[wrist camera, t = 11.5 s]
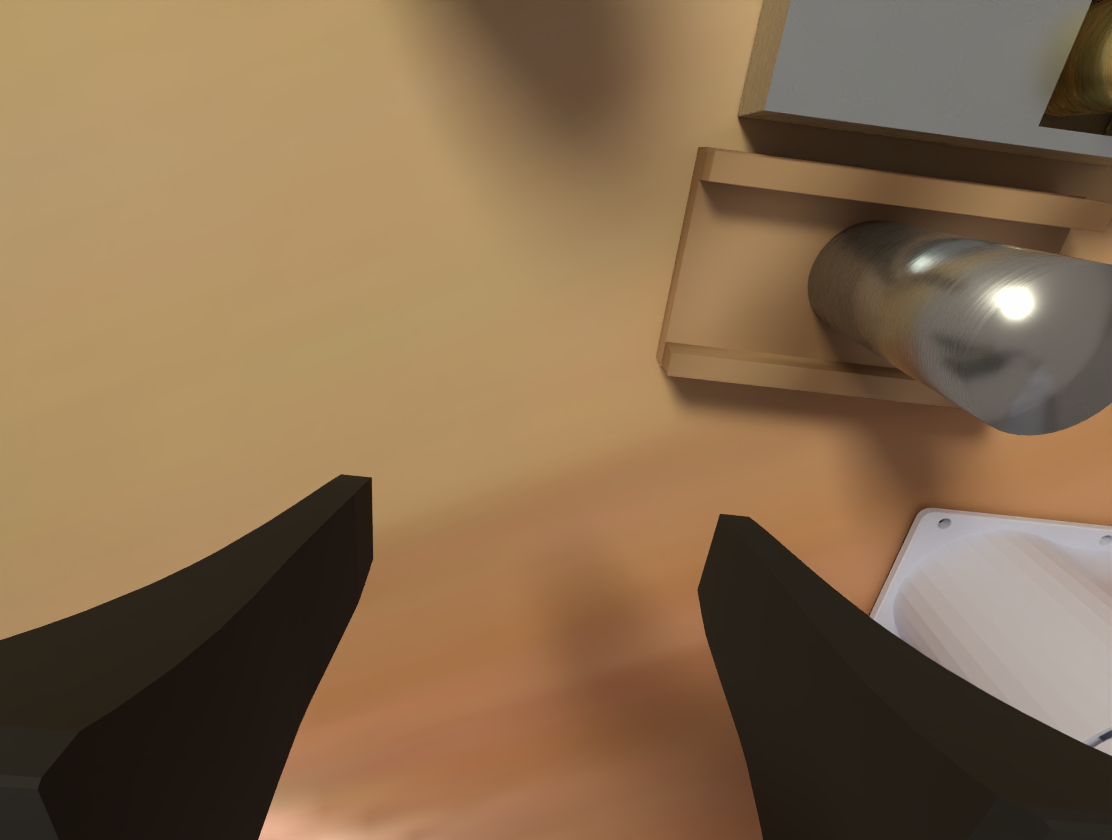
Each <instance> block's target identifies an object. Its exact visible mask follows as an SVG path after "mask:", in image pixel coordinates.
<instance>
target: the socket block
mask: <svg viewBox="0 0 1112 840" xmlns="http://www.w3.org/2000/svg"><path fill="white" fill-rule="evenodd" d="M1091 2H1092V0H763V5H762V9H761V13H760V18H759V22H758V27H757V31H756V36H755V40H754V45H753V49H752V54H751V58H750V62H749V67H748V71H747V76H746V80H745V85H744V89H743V94H742V98H741V103H740V107H739V112H738V116H741V117H748V118H756V119H763V120H771V121H778V122H785V123H793V124H800V125H807V126H815V127H822V128H830V129H837V130H844V131H852V132H859V133H867V134H874V135H881V136H889V137H896V138H903V139H911V140H918V141H926V142H933V143H940V144H948V145H955V146H963V147H970V148H977V149H985V150H992V151H999V152H1007V153H1014V154H1022V155H1029V156H1036V157H1044V158H1051V159H1059V160H1066V161H1073V162H1081V163H1088V164H1095V165H1103V166H1112V118H1111V120H1110V123H1109V125H1108V127H1107V129H1106V131H1105V133H1104V135H1098V134H1091V133H1084V132H1076V131H1069V130H1062V129H1055V128H1047V127H1040V126H1039V123H1040V121H1041V119H1042V116H1043V114H1044V112H1045V109H1046V107H1047V105H1048V102H1049V100H1050V98H1051V95H1052V93H1053V91H1054V88H1055V86H1056V84H1057V81H1058V79H1059V77H1060V74H1061V72H1062V70H1063V67H1064V65H1065V63H1066V60H1067V58H1068V55H1069V53H1070V51H1071V48H1072V46H1073V44H1074V41H1075V39H1076V37H1077V34H1078V32H1079V30H1080V27H1081V25H1082V23H1083V20H1084V18H1085V16H1086V13H1087V11H1088V9H1089V6H1090V4H1091Z"/></svg>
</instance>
